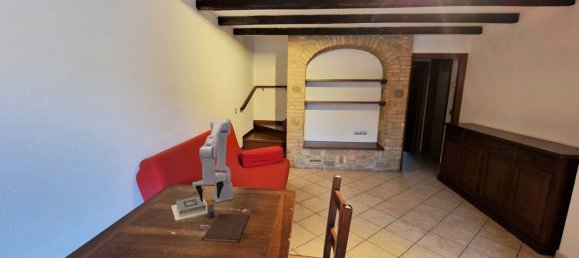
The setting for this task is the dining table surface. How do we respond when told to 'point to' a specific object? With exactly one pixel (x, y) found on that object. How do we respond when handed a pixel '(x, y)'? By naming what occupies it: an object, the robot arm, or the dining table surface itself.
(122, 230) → the dining table surface
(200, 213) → the stand base
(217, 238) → the notebook
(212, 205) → the orange topped can
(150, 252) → the dining table surface
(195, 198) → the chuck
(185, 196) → the pliers
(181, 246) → the dining table surface
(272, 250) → the dining table surface
